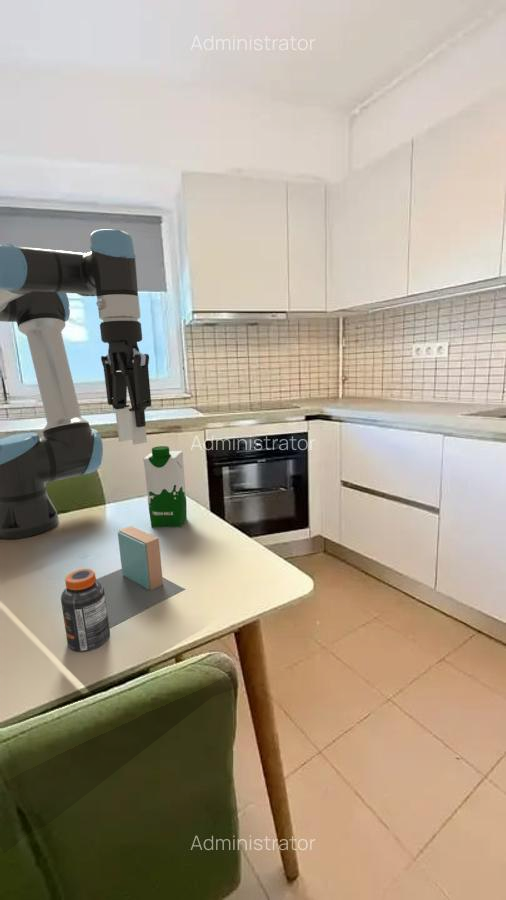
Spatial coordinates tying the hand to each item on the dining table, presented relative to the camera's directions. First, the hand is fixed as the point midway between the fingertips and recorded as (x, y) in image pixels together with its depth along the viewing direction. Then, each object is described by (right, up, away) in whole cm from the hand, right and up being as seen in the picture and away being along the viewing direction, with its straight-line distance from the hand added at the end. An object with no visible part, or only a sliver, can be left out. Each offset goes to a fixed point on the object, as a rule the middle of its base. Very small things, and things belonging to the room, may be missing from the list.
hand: (132, 441), depth 89 cm
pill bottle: (0, -31, -23) cm, 38 cm away
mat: (+1, -28, -10) cm, 29 cm away
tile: (+3, -26, -6) cm, 27 cm away
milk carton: (+3, -20, +22) cm, 30 cm away
